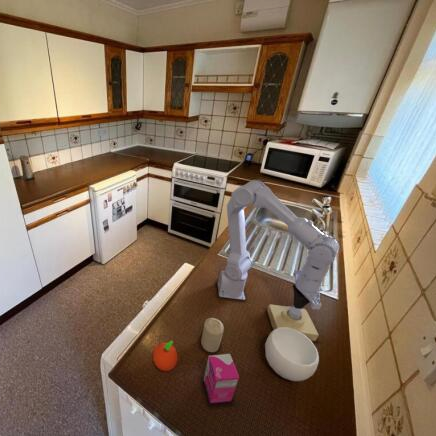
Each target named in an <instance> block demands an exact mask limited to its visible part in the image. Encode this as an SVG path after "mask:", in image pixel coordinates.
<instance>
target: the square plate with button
mask: <svg viewBox="0 0 436 436" xmlns="http://www.w3.org/2000/svg"><path fill="white" fill-rule="evenodd" d="M290 307H291V306H285V305H278V304H270V303H269V304H268V305H267V309H266V311H267V315H268V316H269V317H268V318H269V320H270V324H271V326H272V329H273V330H275V329H277V328H279V327H288V328H292V329H295V330H297V331H299V332H301V333H302V334H304V335H305V336H306V337H308V338H309V339H310V340H311V341H312V342H316V341H317V339H318V337H319V333H318V331H317V329H316V327H315V325H314V323H313V320H312V319H311V317H310V315H309V313H308V311H307V309H306V308H302V309H300V310H301V312H302V315H301V317H300V319H299V320H295V319H293V318H291V317H290V316H289V315H288V311H289V309H290ZM273 330H272V331H273Z"/></svg>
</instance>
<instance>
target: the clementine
mask: <svg viewBox="0 0 436 436" xmlns="http://www.w3.org/2000/svg"><path fill="white" fill-rule="evenodd" d="M173 343H174V340H169V341H168V342H164V341H163V342H160V343H158V344H157V346H155V348H154V349H153V353H152V360H153V363H154V365H155V367H156V368H157V369H158V370H160V371H163V372H168V371H171V370H172V369H174V368H175V367H176V365H177V363H178V352H177V349H176V348H175V346H174V345H173Z"/></svg>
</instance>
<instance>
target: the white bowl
mask: <svg viewBox="0 0 436 436" xmlns="http://www.w3.org/2000/svg"><path fill="white" fill-rule="evenodd" d="M264 349H265V350H264V351H265V358H266V361H267V363H268V365H269V366H270V368H271V369H272V370H273V371H274V372H275V373H276V374H277V375H278V376H280V377H281V378H283V379H285V380H289V381H291V382H303V381H305V380H308V379H309V378H310V377H312V376H314V374H315V373H316V371H317V369H318V365H319V362H320V355H319V352H318V348H317V347H316V345H315V344H314V342H313V341H312V340H310V339H309V338H308V337H306V336H305V335H304V334H302V333H301V332H299V331H297V330H295V329H292V328H288V327H279V328H277V329H275V330H272V331H271V332H270V333H269V334H268V337H267V339H266V342H265V344H264Z"/></svg>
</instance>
